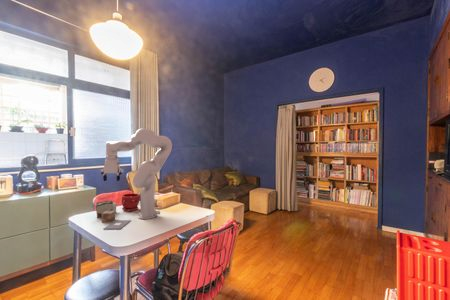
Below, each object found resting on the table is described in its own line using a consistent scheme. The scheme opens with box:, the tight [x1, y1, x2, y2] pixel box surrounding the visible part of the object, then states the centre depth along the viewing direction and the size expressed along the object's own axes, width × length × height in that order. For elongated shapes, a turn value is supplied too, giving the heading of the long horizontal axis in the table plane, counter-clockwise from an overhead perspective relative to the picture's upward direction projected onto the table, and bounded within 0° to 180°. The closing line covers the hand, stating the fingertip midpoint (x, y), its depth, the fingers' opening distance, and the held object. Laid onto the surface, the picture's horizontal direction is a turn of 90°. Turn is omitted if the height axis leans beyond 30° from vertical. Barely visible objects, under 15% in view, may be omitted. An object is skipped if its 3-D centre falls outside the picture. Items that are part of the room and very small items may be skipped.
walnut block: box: [101, 211, 116, 223], centre depth 145 cm, size 6×6×6 cm
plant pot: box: [121, 193, 140, 212], centre depth 171 cm, size 13×13×12 cm
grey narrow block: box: [112, 202, 117, 214], centre depth 163 cm, size 6×6×7 cm
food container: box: [94, 200, 114, 219], centre depth 156 cm, size 12×6×10 cm, turn 146°
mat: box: [103, 219, 132, 230], centre depth 137 cm, size 10×15×1 cm, turn 1°
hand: (111, 180), depth 163 cm, fingers open, 9 cm apart
